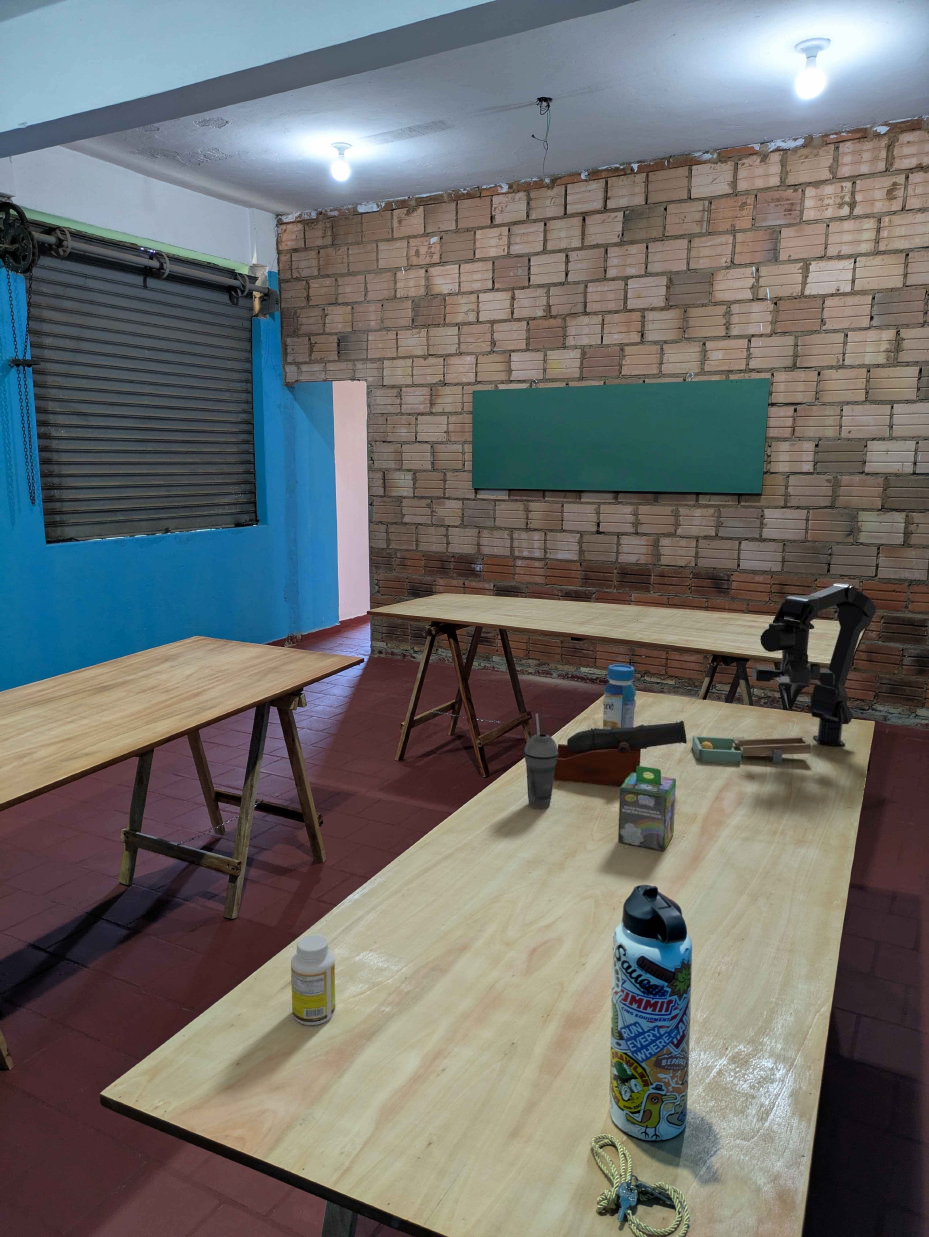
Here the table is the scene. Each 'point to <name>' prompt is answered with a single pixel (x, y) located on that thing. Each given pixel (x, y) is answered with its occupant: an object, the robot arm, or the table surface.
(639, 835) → the chalk box
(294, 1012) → the supplement bottle
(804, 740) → the chute
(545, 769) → the beverage cup
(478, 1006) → the table surface
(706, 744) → the ball
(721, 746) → the tray
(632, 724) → the beverage bottle
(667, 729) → the cannon model
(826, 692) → the robot arm
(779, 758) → the fulcrum
